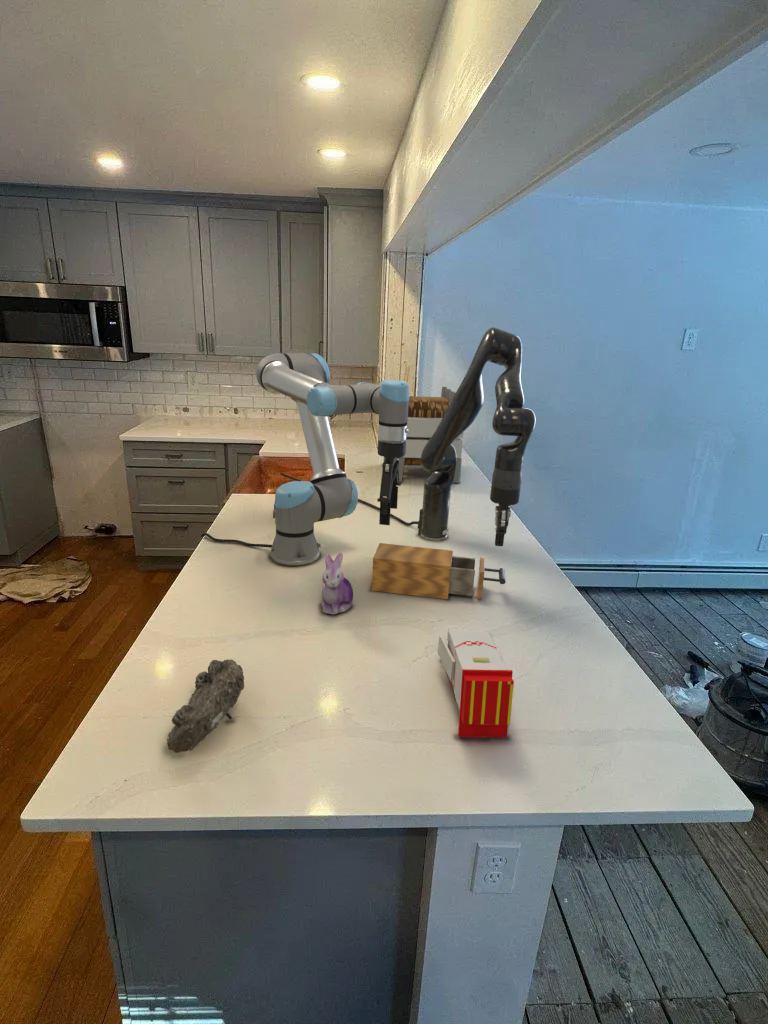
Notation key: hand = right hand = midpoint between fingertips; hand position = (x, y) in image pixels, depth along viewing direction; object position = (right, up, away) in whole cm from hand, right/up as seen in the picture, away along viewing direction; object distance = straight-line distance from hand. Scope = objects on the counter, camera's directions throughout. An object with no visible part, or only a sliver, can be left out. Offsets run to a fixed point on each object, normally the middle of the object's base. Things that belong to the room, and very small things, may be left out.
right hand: (498, 545), depth 154 cm
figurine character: (-68, +7, +55) cm, 88 cm away
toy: (-13, -29, -36) cm, 48 cm away
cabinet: (-23, -12, +8) cm, 28 cm away
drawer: (-11, -13, +6) cm, 18 cm away
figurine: (-44, -16, -5) cm, 47 cm away
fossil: (-64, -30, -46) cm, 84 cm away
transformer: (-14, +28, +121) cm, 125 cm away
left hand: (-30, +8, +3) cm, 31 cm away
